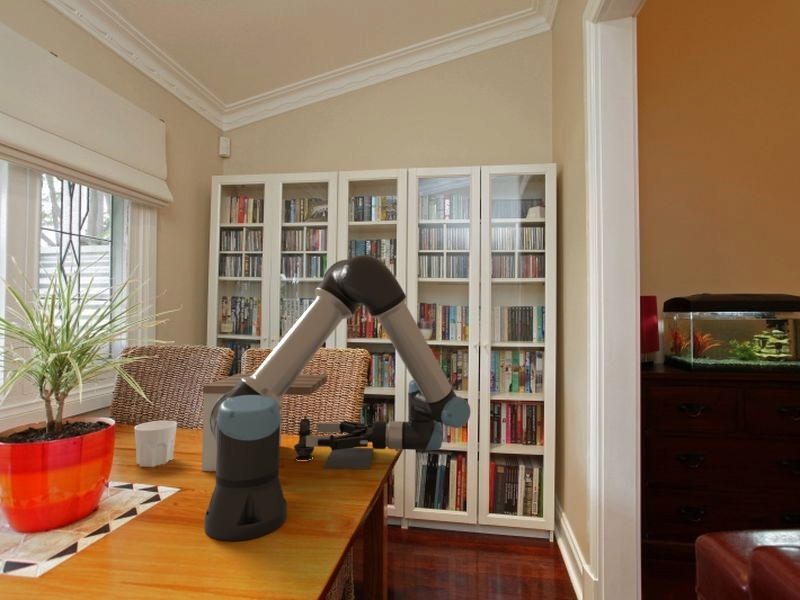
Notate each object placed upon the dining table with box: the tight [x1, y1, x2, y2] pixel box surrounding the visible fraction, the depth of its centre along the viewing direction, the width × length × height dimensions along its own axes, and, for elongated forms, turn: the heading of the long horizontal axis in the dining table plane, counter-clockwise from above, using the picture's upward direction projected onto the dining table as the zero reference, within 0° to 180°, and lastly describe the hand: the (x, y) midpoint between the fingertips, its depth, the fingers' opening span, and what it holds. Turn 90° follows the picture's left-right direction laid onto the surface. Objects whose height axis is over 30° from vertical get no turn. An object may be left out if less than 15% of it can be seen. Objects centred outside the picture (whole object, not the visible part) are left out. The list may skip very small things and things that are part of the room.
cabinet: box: [201, 373, 328, 472], centre depth 117 cm, size 22×28×22 cm
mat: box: [323, 447, 375, 470], centre depth 116 cm, size 14×12×1 cm
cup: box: [133, 420, 178, 468], centre depth 112 cm, size 10×10×10 cm
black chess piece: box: [293, 415, 315, 460], centre depth 116 cm, size 6×6×12 cm
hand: (312, 433), depth 117 cm, fingers open, 13 cm apart
